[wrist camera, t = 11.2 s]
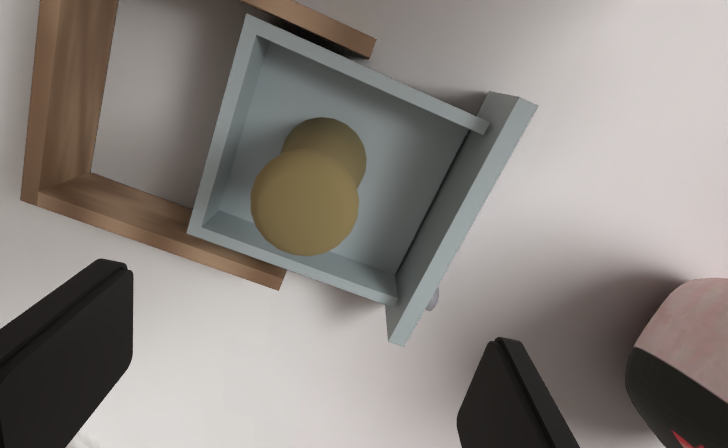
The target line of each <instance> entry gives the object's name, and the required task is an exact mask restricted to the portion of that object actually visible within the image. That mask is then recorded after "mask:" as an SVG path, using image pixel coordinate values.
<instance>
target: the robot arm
mask: <svg viewBox="0 0 728 448" xmlns="http://www.w3.org/2000/svg"><path fill="white" fill-rule="evenodd" d="M132 355H133V272H132V271H131V270H128V269H127V266H126V264H125V263H121V262H116V261H111V260H106V259H98V260H96V261H94V262H93V263H91V264H90V265H89V266H87V267H86V268H84V269H83V270H82V271H80V272H79V273H78V274H76V275H75V276H73V277H72V278H71V279H69V280H68V281H66V282H65V283H64V284H62V285H61V286H60V287H58V288H57V289H55V290H54V291H53V292H51V293H50V294H48V295H47V296H46V297H44V298H43V299H41V300H40V301H39V302H37V303H36V304H35V305H33V306H32V307H30V308H29V309H28V310H26V311H25V312H23V313H22V314H21V315H19V316H18V317H17V318H15V319H14V320H12V321H11V322H10V323H8V324H7V325H5V326H4V327H3V328H1V329H0V448H65V447H66V446H67V445H68V444H69V442H70V441H71V440H72V439H73V437H74V436H75V435H76V434H77V432H78V431H79V430H80V428H81V427H82V426H83V425H84V423H85V422H86V421H87V420H88V418H89V417H90V416H91V414H92V413H93V412H94V411H95V409H96V408H97V407H98V406H99V404H100V403H101V402H102V401H103V399H104V398H105V397H106V395H107V394H108V393H109V392H110V390H111V389H112V388H113V387H114V385H115V384H116V383H117V382H118V380H119V379H120V378H121V376H122V375H123V374H124V373H125V371H126V370H127V369H128V367H129V365H130V363H131V360H132ZM457 430H458V434H459V438H460V442H461V446H462V448H580V447H579V445H578V443H577V441H576V440H575V438H574V436H573V434H572V432H571V431H570V429H569V427H568V425H567V423H566V422H565V420H564V418H563V416H562V414H561V413H560V411H559V409H558V407H557V405H556V404H555V402H554V400H553V398H552V396H551V395H550V393H549V391H548V389H547V387H546V386H545V384H544V382H543V380H542V378H541V377H540V375H539V373H538V371H537V369H536V368H535V366H534V364H533V362H532V360H531V359H530V357H529V355H528V353H527V351H526V350H525V348H524V346H523V344H522V343H521V342H520V341H517V340H512V339H507V338H502V337H498V338H496V339H495V341H490V342H489V343H488V344H487V346H486V349H485V351H484V353H483V356H482V358H481V360H480V363H479V365H478V367H477V370H476V372H475V374H474V377H473V379H472V382H471V384H470V386H469V389H468V391H467V393H466V396H465V398H464V400H463V403H462V405H461V407H460V410H459V412H458V415H457Z"/></svg>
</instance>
